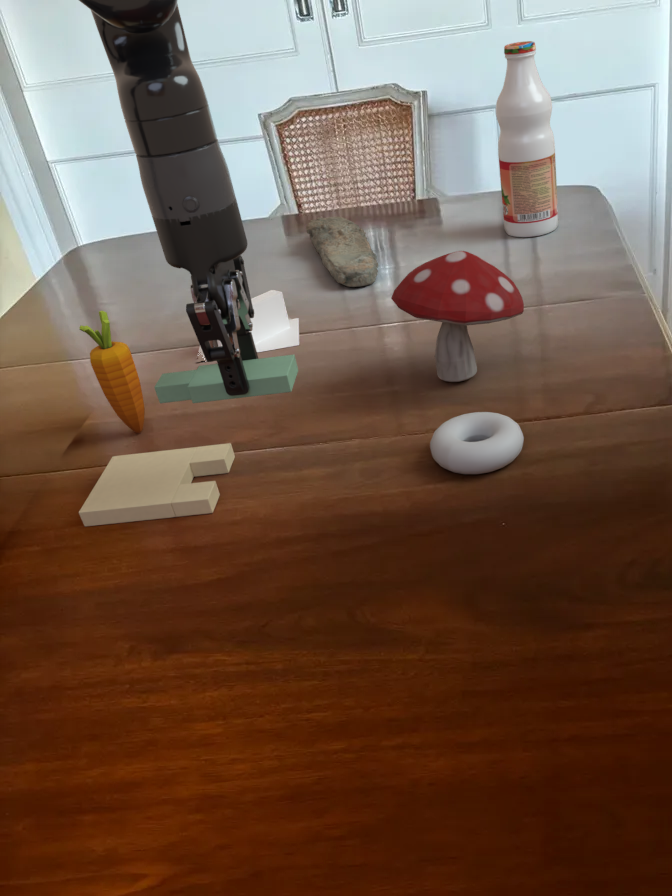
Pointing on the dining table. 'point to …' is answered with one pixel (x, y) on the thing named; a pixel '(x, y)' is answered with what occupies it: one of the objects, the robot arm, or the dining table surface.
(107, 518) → the sand pad
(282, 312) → the napkin holder
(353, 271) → the elongated rock
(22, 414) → the dining table surface
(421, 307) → the decorative mushroom
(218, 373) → the green tabbed block
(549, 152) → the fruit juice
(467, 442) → the donut
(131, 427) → the carrot
